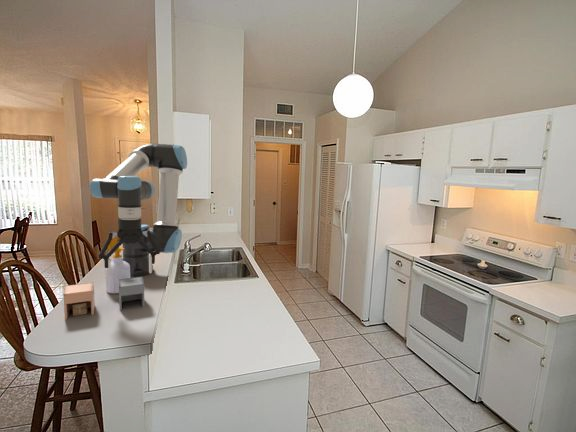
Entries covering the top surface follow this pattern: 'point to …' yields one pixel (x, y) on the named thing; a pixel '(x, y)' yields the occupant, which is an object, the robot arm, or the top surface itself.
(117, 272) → the soap bottle
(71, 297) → the terracotta cover
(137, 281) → the slate cover
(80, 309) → the letter cube
